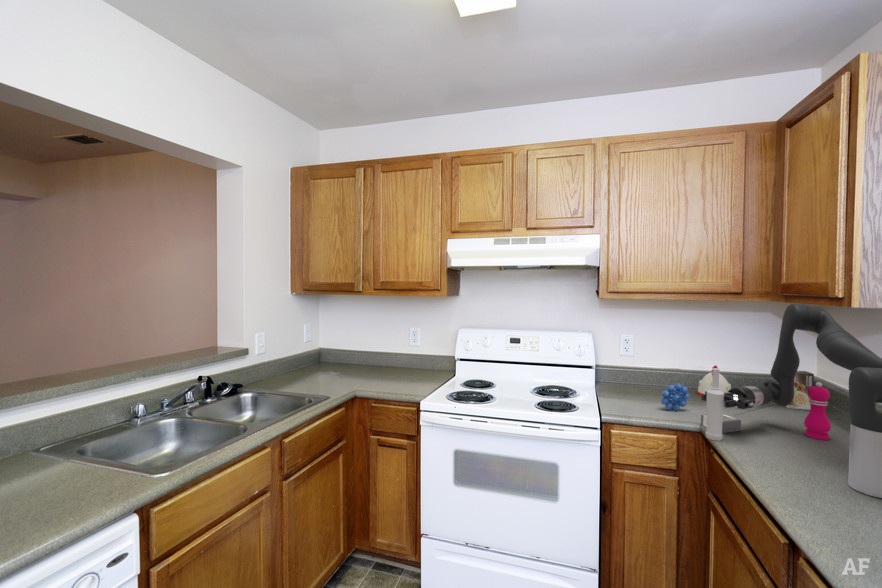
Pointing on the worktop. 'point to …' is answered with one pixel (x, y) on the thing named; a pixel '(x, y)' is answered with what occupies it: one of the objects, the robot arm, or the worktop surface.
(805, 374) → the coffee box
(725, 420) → the socket collar
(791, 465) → the worktop surface
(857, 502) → the worktop surface
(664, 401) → the blue bumpy cluster
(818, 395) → the pepper mill
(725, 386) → the kitchen timer
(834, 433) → the worktop surface
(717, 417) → the bottle
